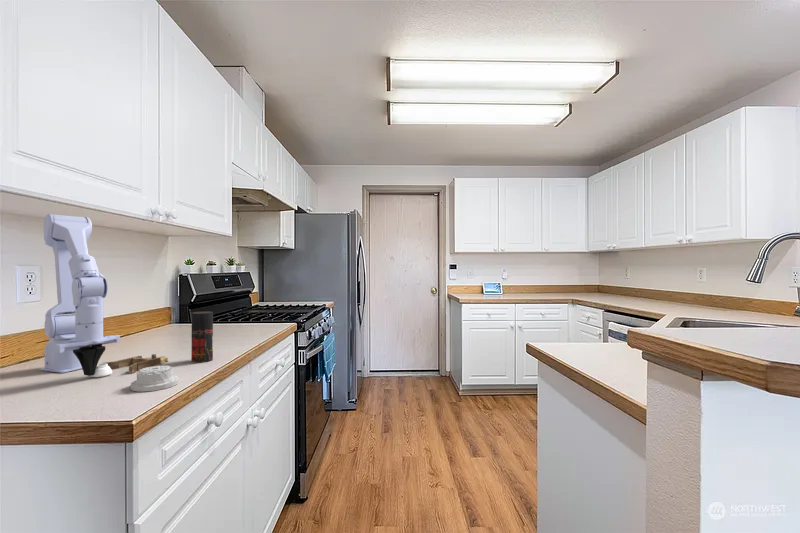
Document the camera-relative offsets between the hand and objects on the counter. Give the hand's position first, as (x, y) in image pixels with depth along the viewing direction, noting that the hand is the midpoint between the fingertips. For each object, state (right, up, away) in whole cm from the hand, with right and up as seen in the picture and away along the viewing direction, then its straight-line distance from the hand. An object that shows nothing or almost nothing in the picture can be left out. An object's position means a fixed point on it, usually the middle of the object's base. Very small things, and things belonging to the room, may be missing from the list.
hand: (89, 374), depth 100 cm
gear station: (+4, -1, +14) cm, 14 cm away
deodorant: (+19, -1, +20) cm, 28 cm away
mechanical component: (+21, -2, -5) cm, 21 cm away
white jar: (+1, -1, +3) cm, 3 cm away
